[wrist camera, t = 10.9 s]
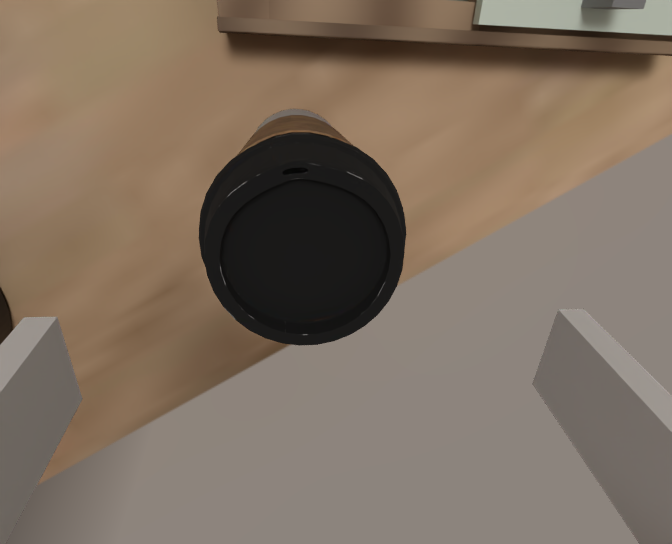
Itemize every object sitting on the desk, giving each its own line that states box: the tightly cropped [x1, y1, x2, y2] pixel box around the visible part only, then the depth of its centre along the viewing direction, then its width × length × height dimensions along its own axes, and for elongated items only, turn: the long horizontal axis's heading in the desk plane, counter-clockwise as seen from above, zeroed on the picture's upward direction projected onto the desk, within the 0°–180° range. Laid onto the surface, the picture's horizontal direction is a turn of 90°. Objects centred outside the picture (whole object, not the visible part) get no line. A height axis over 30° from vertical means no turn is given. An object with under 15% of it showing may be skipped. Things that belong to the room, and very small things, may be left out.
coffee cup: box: [199, 109, 406, 345], centre depth 23 cm, size 8×8×15 cm
